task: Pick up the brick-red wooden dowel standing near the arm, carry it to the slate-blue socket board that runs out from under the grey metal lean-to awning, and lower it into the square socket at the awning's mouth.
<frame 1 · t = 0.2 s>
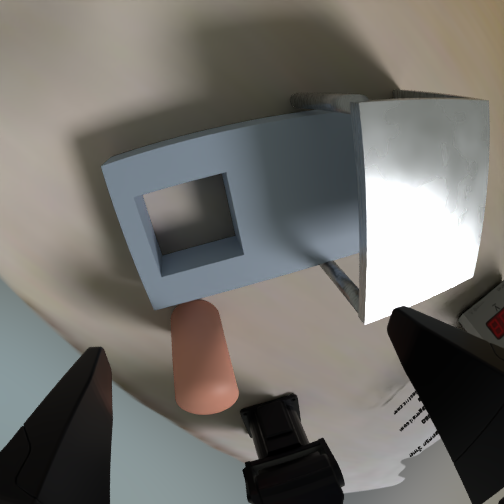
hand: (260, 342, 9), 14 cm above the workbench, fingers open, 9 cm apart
peg: (195, 319, 25), on the workbench
socket board: (260, 192, 22), on the workbench
voltmeter: (446, 346, 38), on the workbench
awning: (361, 170, 23), on the workbench
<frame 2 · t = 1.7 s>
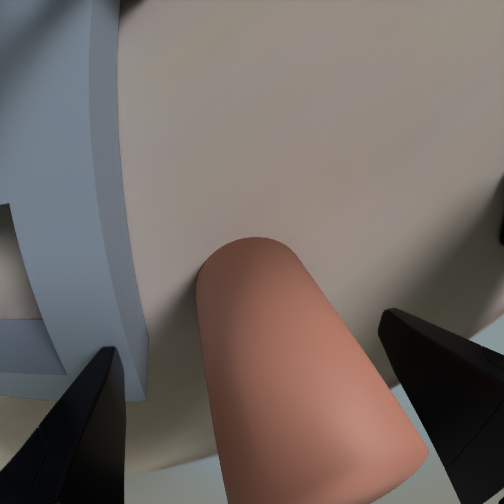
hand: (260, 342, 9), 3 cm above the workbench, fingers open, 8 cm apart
peg: (251, 288, 12), on the workbench
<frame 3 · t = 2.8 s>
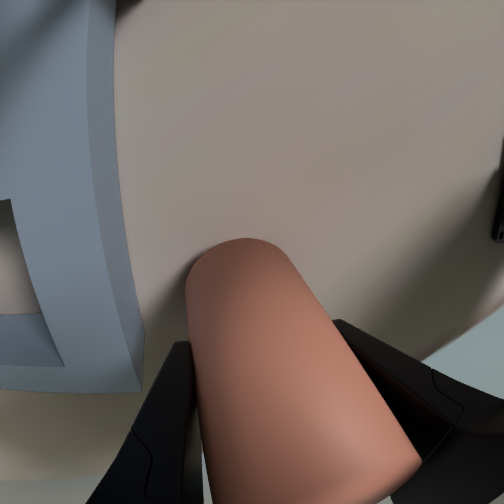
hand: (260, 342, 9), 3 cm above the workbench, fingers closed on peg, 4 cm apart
peg: (241, 290, 11), point 1 cm above the workbench, touching gripper
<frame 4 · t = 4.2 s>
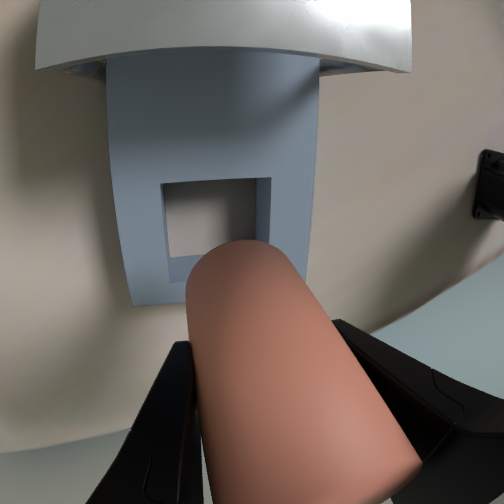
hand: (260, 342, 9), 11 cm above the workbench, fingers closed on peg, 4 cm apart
peg: (242, 292, 11), point 9 cm above the workbench, touching gripper
socket board: (209, 127, 17), on the workbench
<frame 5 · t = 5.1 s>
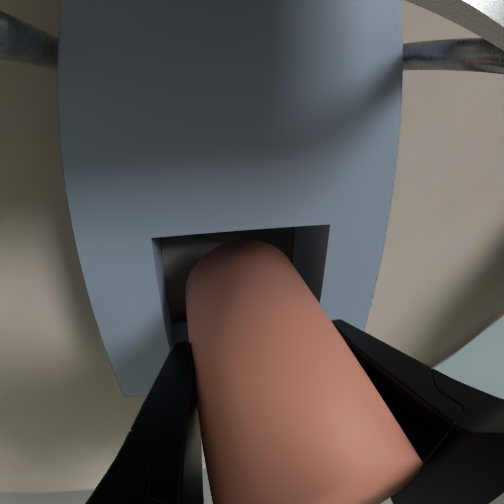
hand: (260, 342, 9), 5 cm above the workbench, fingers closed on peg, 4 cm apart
peg: (242, 291, 11), point 2 cm above the workbench, touching gripper
socket board: (228, 139, 11), on the workbench
when the fingers open (4 cm above the workbench, at t = 5.6 s): peg stays where it is, resting in socket board.
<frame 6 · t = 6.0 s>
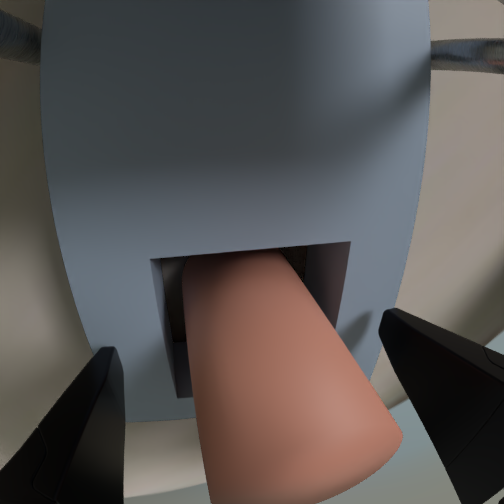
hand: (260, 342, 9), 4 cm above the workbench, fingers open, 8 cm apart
peg: (235, 280, 12), resting in socket board
socket board: (235, 143, 10), on the workbench
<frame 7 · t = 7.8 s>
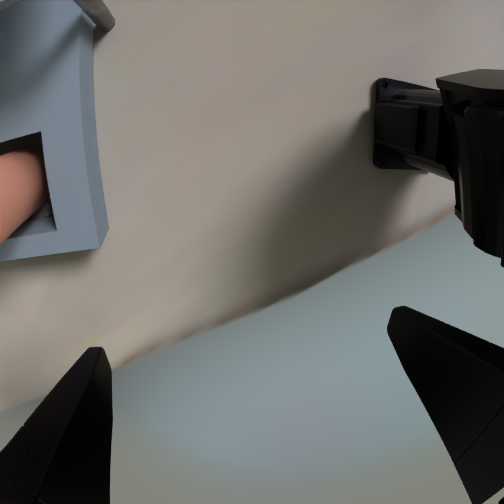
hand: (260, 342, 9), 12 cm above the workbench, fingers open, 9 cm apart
peg: (27, 178, 16), resting in socket board
socket board: (19, 100, 13), on the workbench
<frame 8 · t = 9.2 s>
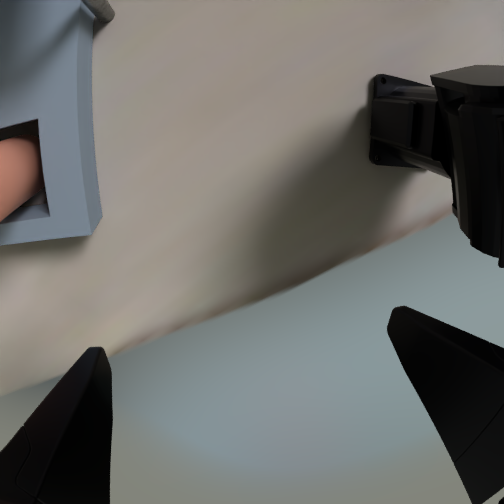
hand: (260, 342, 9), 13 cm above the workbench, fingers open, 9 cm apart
peg: (24, 165, 16), resting in socket board
socket board: (19, 88, 13), on the workbench
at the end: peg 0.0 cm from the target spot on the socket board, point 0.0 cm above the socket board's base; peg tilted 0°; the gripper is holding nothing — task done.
